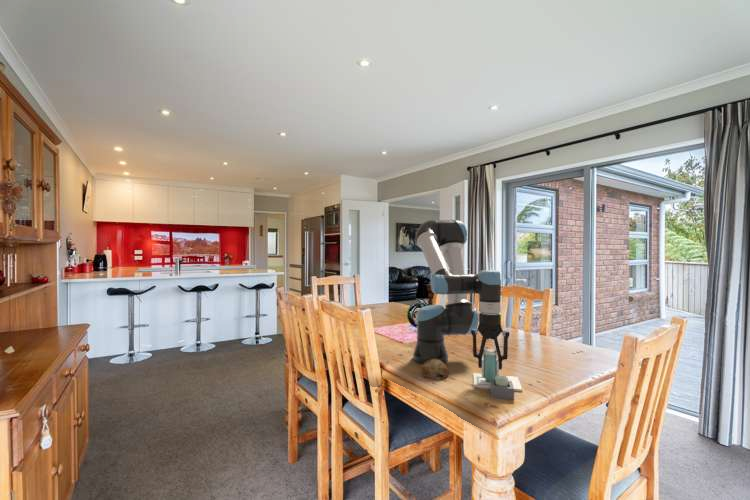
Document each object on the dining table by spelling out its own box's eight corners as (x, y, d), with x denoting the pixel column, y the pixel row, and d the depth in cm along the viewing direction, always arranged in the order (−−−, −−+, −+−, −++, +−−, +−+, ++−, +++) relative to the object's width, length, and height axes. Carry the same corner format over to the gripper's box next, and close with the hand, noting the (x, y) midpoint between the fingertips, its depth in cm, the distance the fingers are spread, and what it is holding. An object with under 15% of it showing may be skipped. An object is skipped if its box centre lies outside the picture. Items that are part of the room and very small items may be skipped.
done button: (495, 391, 116) (495, 379, 116) (495, 386, 120) (494, 374, 120) (508, 392, 115) (508, 380, 115) (507, 387, 119) (507, 376, 119)
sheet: (473, 387, 124) (473, 384, 124) (473, 375, 136) (473, 372, 136) (522, 391, 120) (522, 389, 120) (517, 379, 131) (517, 376, 131)
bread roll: (427, 389, 131) (432, 373, 128) (415, 370, 140) (419, 354, 136) (449, 385, 135) (455, 369, 132) (436, 366, 144) (440, 351, 140)
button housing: (491, 397, 115) (491, 386, 115) (490, 389, 122) (490, 379, 122) (514, 399, 114) (514, 388, 113) (511, 391, 120) (511, 381, 120)
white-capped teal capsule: (483, 382, 126) (483, 352, 126) (483, 377, 130) (483, 348, 130) (497, 383, 125) (496, 352, 125) (496, 378, 129) (496, 349, 129)
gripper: (464, 313, 126) (465, 378, 126) (516, 316, 122) (517, 383, 122) (465, 310, 134) (465, 371, 133) (514, 312, 129) (514, 376, 129)
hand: (490, 377), depth 128 cm, fingers closed on white-capped teal capsule, 4 cm apart
